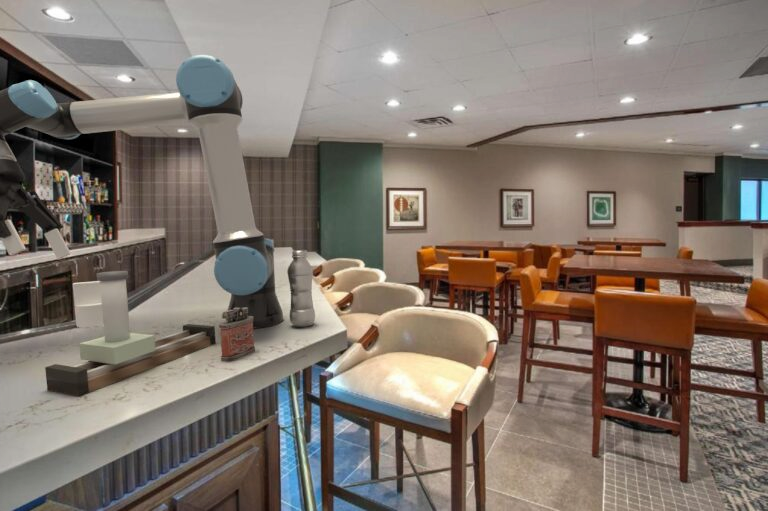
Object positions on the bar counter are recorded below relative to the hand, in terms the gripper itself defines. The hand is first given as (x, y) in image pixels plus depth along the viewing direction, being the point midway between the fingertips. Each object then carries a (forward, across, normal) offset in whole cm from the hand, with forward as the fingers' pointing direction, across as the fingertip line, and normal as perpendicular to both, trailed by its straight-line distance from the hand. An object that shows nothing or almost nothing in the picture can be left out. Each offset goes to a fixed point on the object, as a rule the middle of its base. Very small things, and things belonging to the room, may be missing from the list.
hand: (43, 254), depth 87 cm
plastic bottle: (+41, -17, +38) cm, 58 cm away
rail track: (+31, +6, +10) cm, 33 cm away
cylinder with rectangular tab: (+12, -32, -14) cm, 38 cm away
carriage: (+27, +11, +9) cm, 31 cm away
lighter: (+39, +4, +26) cm, 47 cm away
